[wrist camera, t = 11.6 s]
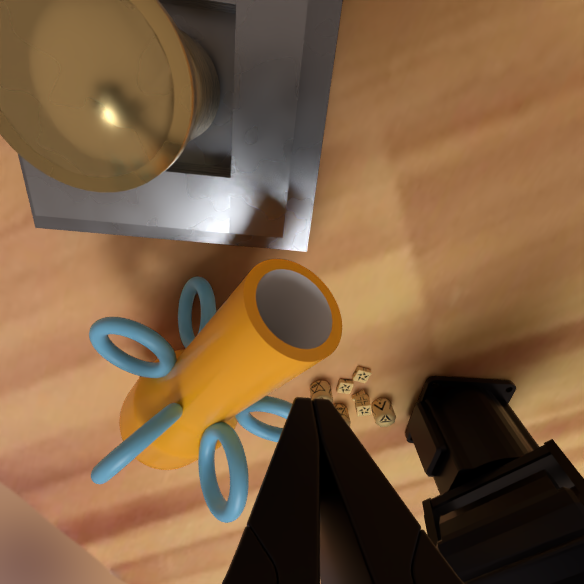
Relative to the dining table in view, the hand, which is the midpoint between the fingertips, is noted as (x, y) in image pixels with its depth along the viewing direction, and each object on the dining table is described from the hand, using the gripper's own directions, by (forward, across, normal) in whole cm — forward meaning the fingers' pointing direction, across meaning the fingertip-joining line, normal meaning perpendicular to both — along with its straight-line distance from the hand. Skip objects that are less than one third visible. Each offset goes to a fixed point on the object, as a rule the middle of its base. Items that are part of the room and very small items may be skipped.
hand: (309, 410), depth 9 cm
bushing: (+12, +6, -6) cm, 15 cm away
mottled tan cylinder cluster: (+14, -6, +12) cm, 19 cm away
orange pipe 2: (+10, +6, +12) cm, 17 cm away
